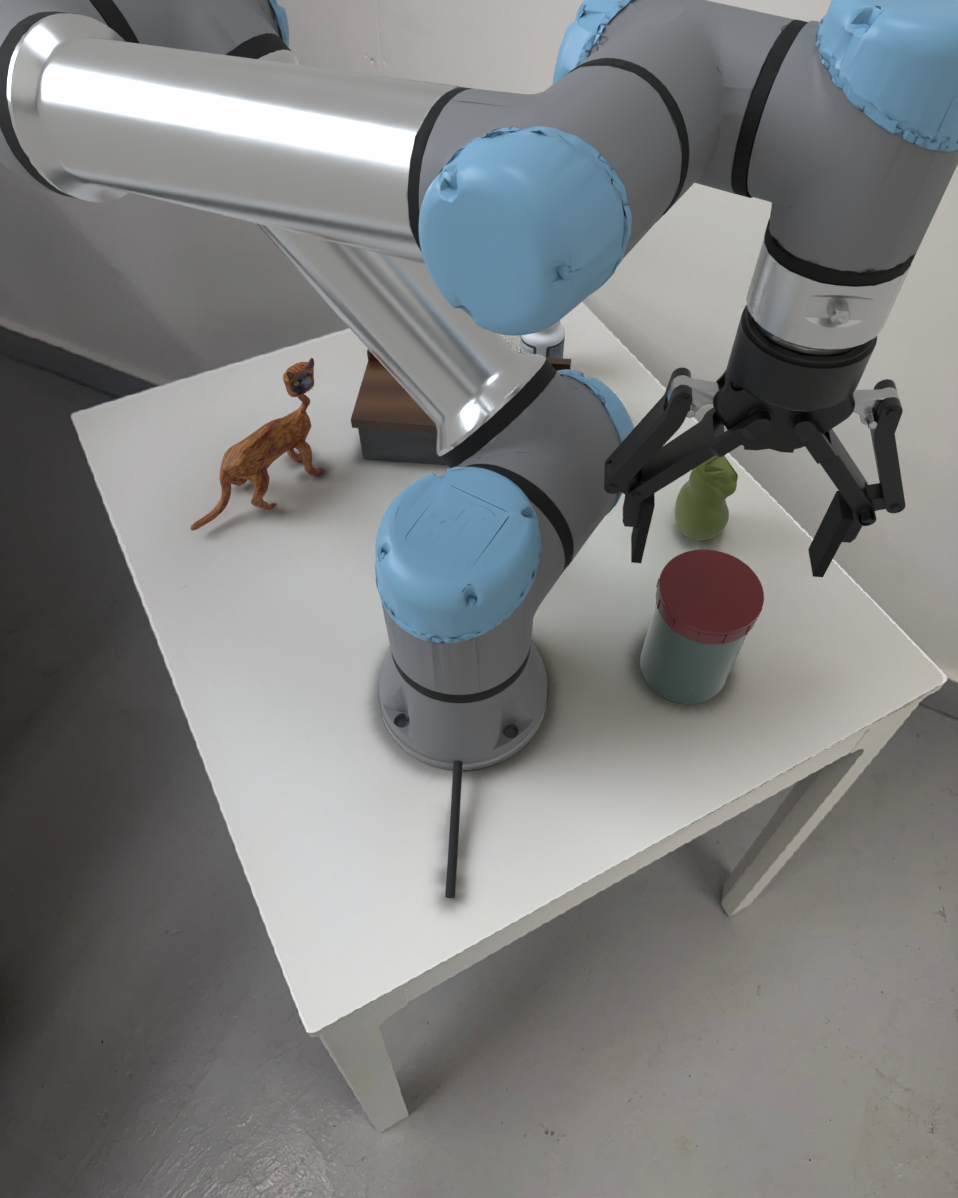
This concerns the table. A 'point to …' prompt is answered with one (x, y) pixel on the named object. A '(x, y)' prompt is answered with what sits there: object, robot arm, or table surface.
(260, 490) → the cat figurine
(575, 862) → the table surface
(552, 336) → the pill bottle
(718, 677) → the jar
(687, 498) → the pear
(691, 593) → the lid
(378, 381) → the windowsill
